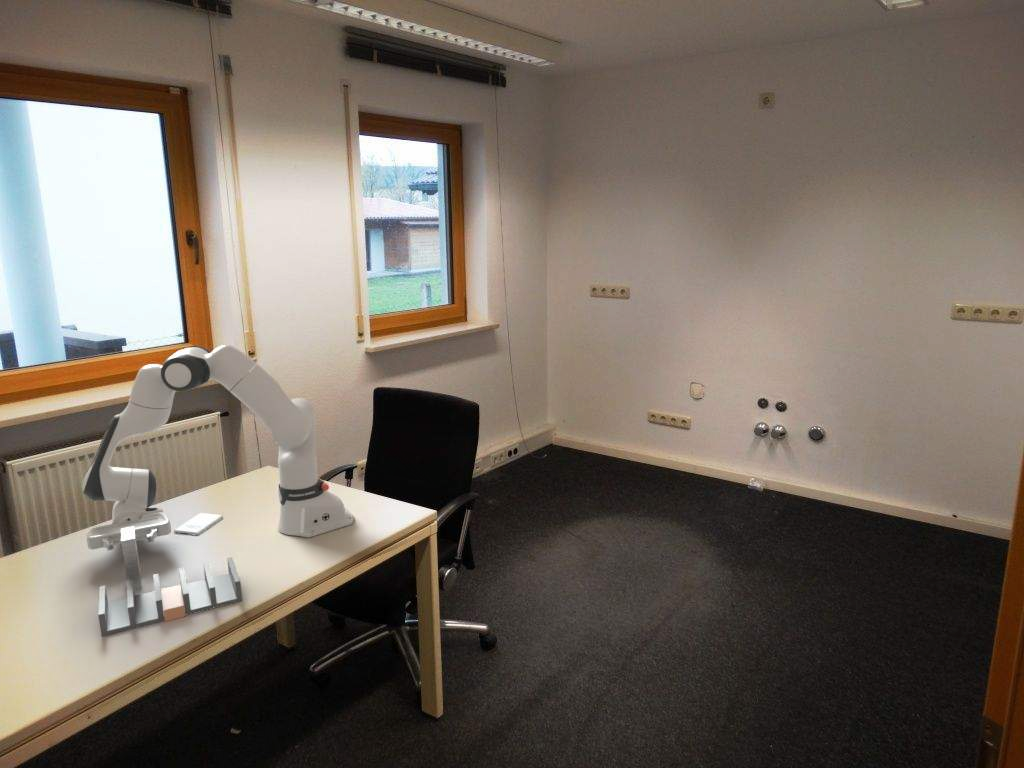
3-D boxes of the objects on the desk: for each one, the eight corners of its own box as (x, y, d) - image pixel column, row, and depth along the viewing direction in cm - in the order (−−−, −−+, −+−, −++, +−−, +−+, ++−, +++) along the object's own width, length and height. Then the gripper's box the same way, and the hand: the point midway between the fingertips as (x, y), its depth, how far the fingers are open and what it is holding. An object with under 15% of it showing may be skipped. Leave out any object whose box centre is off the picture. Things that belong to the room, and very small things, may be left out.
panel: (140, 574, 182) (133, 526, 179) (141, 588, 175) (134, 538, 172) (128, 577, 181) (120, 528, 177) (128, 591, 174) (121, 541, 170)
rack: (234, 575, 181) (232, 557, 180) (242, 602, 169) (240, 582, 168) (102, 606, 167) (99, 586, 166) (101, 637, 154) (98, 616, 153)
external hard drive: (223, 519, 216) (197, 537, 205) (200, 517, 218) (173, 534, 206) (222, 515, 216) (197, 532, 204) (199, 512, 218) (173, 529, 206)
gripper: (85, 521, 188) (83, 541, 177) (167, 506, 198) (170, 524, 186) (88, 542, 190) (86, 563, 178) (170, 526, 199) (173, 545, 188)
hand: (130, 543), depth 182 cm, fingers open, 8 cm apart
